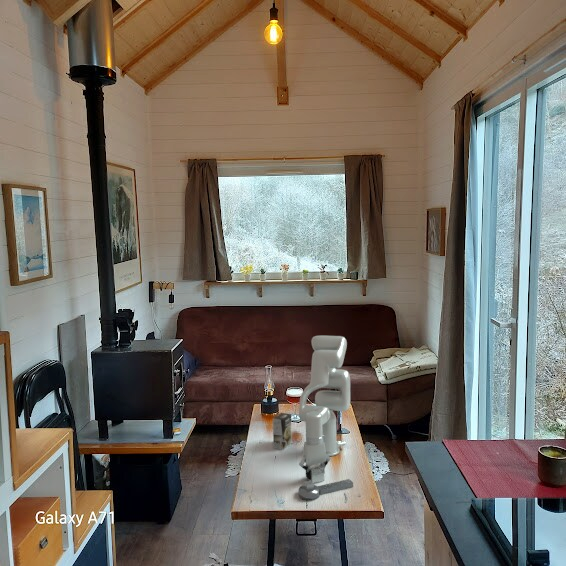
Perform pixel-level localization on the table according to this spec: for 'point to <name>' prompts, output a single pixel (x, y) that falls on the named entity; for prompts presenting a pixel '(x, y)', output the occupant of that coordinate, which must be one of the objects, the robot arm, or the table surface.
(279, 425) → the coffee box
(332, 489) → the ratchet
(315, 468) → the brushed grey cube
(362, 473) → the table surface
